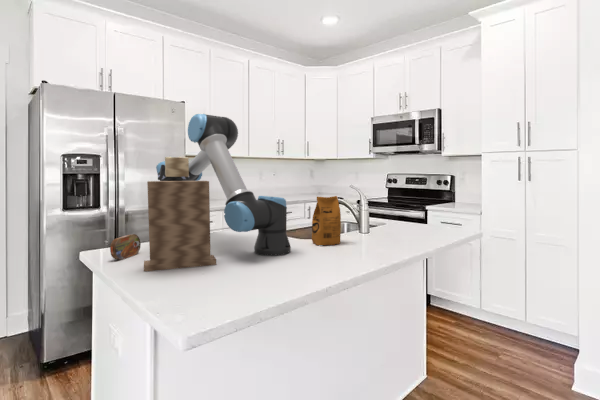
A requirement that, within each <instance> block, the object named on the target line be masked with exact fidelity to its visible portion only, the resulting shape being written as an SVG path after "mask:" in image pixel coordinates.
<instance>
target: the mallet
mask: <svg viewBox="0 0 600 400" xmlns="http://www.w3.org/2000/svg"><path fill="white" fill-rule="evenodd" d="M164 161H165V175H166V177H189V163H190V159H189V157H184V156H183V157H182V156H181V157H179V156H175V157H174V156H171V157H169V156H166V157H165V156H164Z"/></svg>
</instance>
